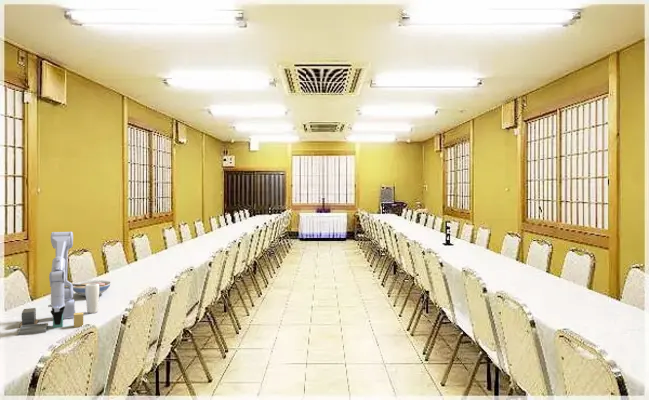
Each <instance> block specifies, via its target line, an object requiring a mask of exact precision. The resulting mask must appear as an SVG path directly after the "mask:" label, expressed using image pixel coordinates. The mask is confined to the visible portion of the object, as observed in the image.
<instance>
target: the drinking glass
mask: <svg viewBox="0 0 649 400" xmlns="http://www.w3.org/2000/svg"><path fill="white" fill-rule="evenodd" d="M85 293H86V297H85V301H86V313H87V314H96V313H98V312H99V301H100V300H99V298H100V294H99V284H97V283H92V284H87V285H86V286H85Z"/></svg>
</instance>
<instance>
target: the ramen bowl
mask: <svg viewBox="0 0 649 400" xmlns="http://www.w3.org/2000/svg"><path fill="white" fill-rule="evenodd" d="M92 283H97V284H99V295H101V294H103V293H104V292H106V291H107V290H108V289H109V287H110V286H111V284H112V282H111V280H110V281H109V280H100V279H99V280H98V279H97V280H85V281H84V280H83V281H78V282H75V283H72V285H73V293H75V294H77V295H79V296H83V297H85V298H86V293H85V286H86V285H87V284H92Z"/></svg>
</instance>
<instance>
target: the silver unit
mask: <svg viewBox="0 0 649 400" xmlns="http://www.w3.org/2000/svg"><path fill="white" fill-rule="evenodd" d="M36 312H37V307H32V308H31V307H30V308H23V310H22V312H21V322H20V324H19V326H18V327H19V329H20V327H21V326H22V325H32V324H39V319H37V313H36Z"/></svg>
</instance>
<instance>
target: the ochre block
mask: <svg viewBox="0 0 649 400" xmlns="http://www.w3.org/2000/svg"><path fill="white" fill-rule="evenodd" d="M82 325H83V326H84V312H75V313H74V318H73V328H81V327H80V326H82Z"/></svg>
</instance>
